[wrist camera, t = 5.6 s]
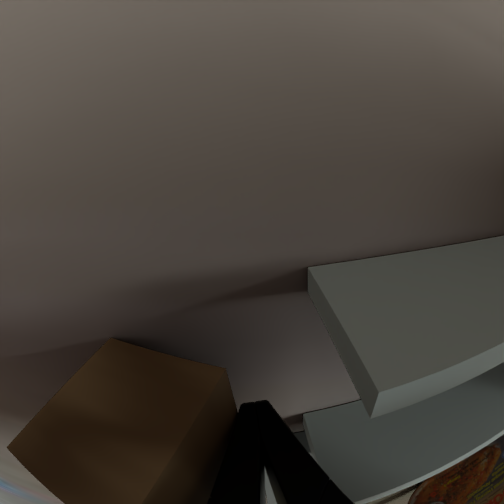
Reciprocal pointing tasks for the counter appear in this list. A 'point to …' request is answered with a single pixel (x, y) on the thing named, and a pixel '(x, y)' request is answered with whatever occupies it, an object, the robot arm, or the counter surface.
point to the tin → (467, 480)
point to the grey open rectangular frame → (411, 364)
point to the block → (132, 430)
